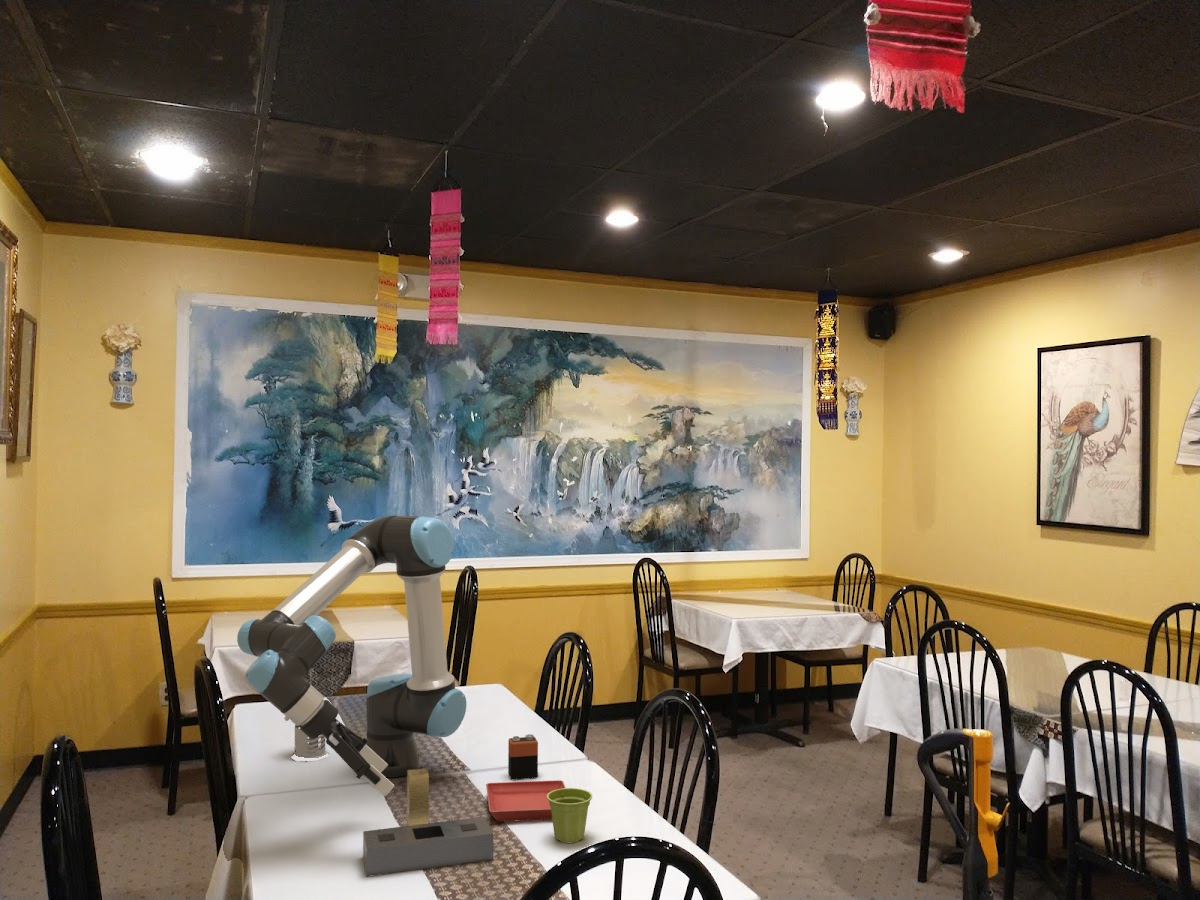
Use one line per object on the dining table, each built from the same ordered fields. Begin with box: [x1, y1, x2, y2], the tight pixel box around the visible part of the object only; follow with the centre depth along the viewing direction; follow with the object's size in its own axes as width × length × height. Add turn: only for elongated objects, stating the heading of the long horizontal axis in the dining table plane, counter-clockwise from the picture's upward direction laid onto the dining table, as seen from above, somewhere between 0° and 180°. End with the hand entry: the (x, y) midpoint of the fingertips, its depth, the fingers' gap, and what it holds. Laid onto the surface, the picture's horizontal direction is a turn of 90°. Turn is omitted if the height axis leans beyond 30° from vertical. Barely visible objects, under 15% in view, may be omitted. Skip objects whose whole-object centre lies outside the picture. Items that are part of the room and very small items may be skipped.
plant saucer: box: [485, 779, 566, 822], centre depth 207 cm, size 18×18×3 cm
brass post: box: [406, 767, 430, 826], centre depth 194 cm, size 4×4×12 cm
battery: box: [507, 733, 539, 780], centre depth 227 cm, size 4×7×10 cm, turn 104°
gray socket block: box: [362, 816, 494, 877], centre depth 180 cm, size 24×9×5 cm, turn 109°
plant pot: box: [547, 787, 593, 844], centre depth 190 cm, size 9×9×9 cm
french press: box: [293, 668, 329, 758], centre depth 243 cm, size 10×12×25 cm
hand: (386, 780), depth 191 cm, fingers open, 13 cm apart
